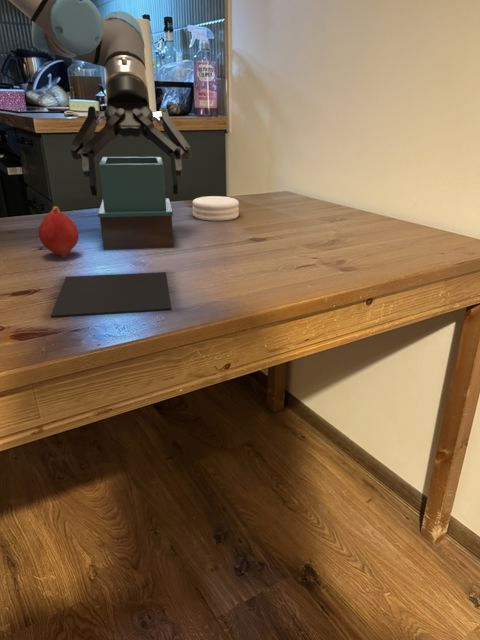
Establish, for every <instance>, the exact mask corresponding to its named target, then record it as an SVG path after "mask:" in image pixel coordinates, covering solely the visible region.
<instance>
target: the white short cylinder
mask: <svg viewBox="0 0 480 640" xmlns="http://www.w3.org/2000/svg"><path fill="white" fill-rule="evenodd" d="M239 205H240V202H239V200H238V199H236V198H233V197H229V196H224V195H223V196H221V195H220V196H219V195H209V196H200V197H197V198H194V199H193V200H192V217H194V218H195V219H197V220H201V221H207V222H208V221H209V222H225V221H232V220H234V219H237V218H238V217H239V215H240V213H239V210H240V208H239V207H240V206H239Z"/></svg>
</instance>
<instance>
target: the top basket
mask: <svg viewBox="0 0 480 640" xmlns="http://www.w3.org/2000/svg"><path fill="white" fill-rule="evenodd" d="M98 170H99V177H100V178H99V179H100V186H101V192H102V193H101V194H102V200H101V203H100V205H99V209H98V212H97V217H98V218H100V217H130V216H172V217H173V216H174V212H173V208H172V205H171V200H170V198H168V197H166V183H165V169H164V162H163V159H162V157H161V156H102V158H101V160H100V162H99V163H98Z"/></svg>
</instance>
